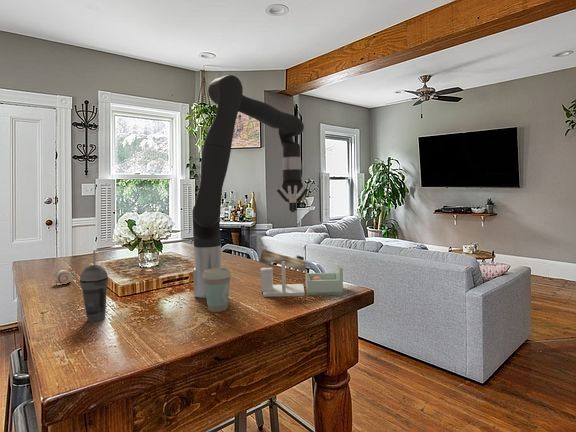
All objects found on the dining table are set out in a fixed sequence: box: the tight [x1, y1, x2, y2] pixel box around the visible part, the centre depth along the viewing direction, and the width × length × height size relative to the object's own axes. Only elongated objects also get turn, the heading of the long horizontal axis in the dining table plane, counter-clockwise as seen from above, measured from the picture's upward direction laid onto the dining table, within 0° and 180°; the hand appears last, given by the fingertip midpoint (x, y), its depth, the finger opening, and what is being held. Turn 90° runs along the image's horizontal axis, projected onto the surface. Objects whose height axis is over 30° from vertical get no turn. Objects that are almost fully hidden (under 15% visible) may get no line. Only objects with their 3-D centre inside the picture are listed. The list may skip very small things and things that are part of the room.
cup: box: [305, 261, 344, 297], centre depth 129 cm, size 12×12×9 cm
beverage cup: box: [79, 249, 109, 323], centre depth 104 cm, size 7×7×20 cm
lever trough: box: [259, 245, 307, 272], centre depth 131 cm, size 16×13×5 cm
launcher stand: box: [259, 261, 306, 298], centre depth 128 cm, size 15×12×12 cm
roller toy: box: [53, 269, 73, 284], centre depth 148 cm, size 4×6×6 cm
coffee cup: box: [202, 267, 232, 313], centre depth 110 cm, size 8×9×12 cm
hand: (293, 212), depth 147 cm, fingers closed
